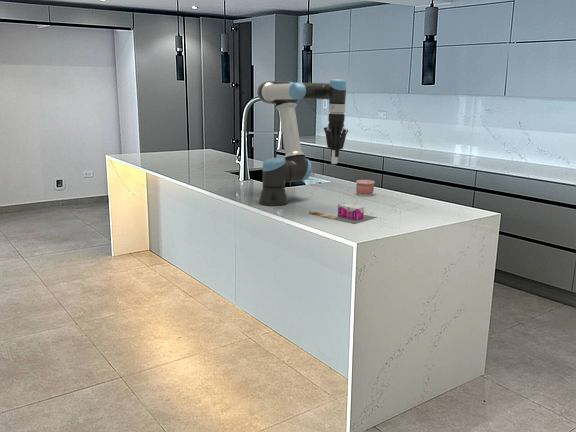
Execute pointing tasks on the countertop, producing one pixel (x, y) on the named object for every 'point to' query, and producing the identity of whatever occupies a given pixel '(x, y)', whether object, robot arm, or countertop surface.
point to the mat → (365, 218)
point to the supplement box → (350, 211)
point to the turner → (322, 215)
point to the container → (365, 187)
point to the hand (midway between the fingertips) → (334, 163)
